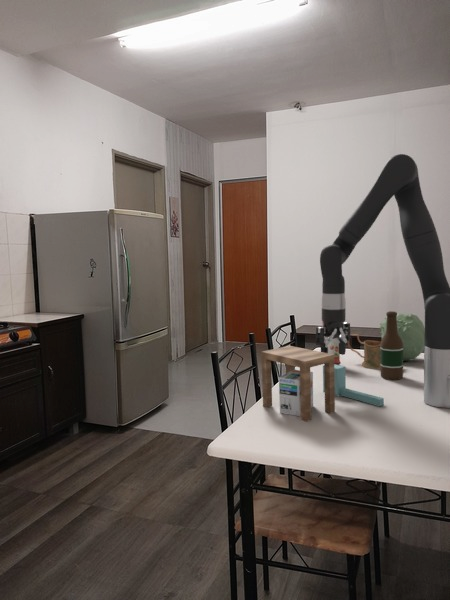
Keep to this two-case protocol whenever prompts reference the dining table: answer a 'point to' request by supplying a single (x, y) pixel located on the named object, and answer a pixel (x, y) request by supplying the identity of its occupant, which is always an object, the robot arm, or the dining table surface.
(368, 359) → the mug
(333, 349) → the liquor
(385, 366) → the beer bottle
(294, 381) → the light bulb box
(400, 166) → the robot arm
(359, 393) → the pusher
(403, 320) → the cabbage
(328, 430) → the dining table surface
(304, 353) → the bench
